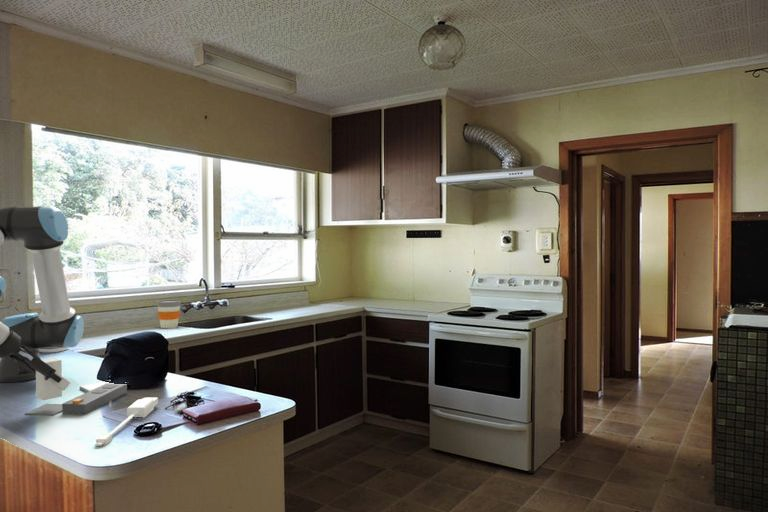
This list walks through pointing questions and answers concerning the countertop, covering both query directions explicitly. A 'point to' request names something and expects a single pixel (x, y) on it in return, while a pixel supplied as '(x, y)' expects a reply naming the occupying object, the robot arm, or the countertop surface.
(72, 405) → the strip
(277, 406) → the countertop surface
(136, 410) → the charging cable
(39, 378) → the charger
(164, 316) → the reusable coffee cup
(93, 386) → the external hard drive
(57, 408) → the mat
